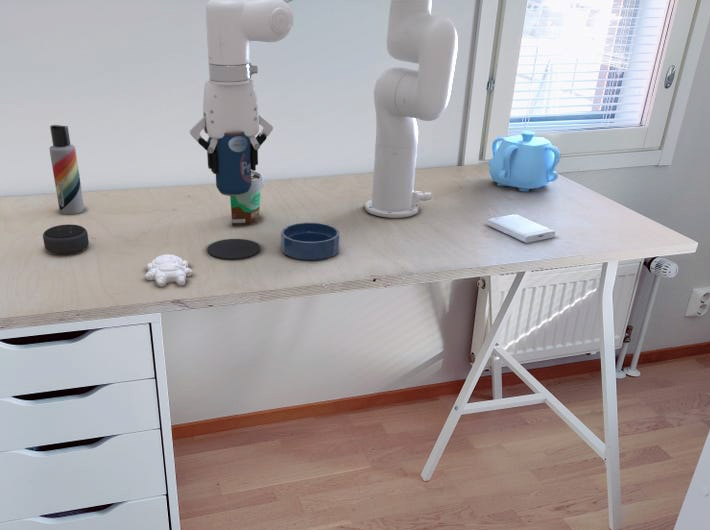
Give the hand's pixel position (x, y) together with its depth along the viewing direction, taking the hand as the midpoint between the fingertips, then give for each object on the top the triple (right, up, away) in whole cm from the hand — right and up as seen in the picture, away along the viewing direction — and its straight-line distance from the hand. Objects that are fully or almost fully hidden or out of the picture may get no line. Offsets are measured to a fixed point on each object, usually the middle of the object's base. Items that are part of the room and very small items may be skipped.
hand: (233, 169), depth 139 cm
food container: (+2, -5, +25) cm, 25 cm away
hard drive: (+62, -9, +18) cm, 65 cm away
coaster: (0, -14, +8) cm, 17 cm away
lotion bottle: (-41, -2, +30) cm, 51 cm away
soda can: (0, -4, +2) cm, 5 cm away
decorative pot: (+72, +9, +49) cm, 87 cm away
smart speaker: (-35, -14, +9) cm, 39 cm away
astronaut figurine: (-12, -21, -3) cm, 25 cm away
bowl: (+15, -15, +8) cm, 23 cm away
